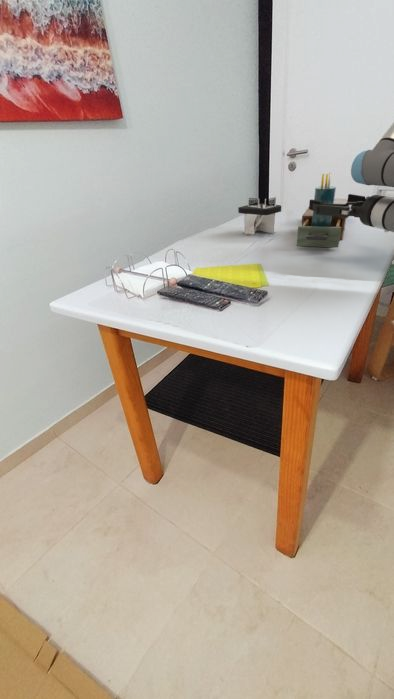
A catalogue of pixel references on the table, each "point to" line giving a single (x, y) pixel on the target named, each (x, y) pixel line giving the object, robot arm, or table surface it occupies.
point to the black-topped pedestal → (260, 215)
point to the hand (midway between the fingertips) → (329, 201)
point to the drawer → (319, 234)
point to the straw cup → (326, 196)
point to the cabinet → (309, 214)
